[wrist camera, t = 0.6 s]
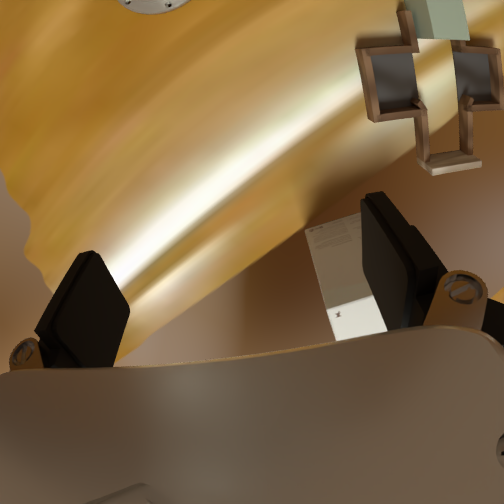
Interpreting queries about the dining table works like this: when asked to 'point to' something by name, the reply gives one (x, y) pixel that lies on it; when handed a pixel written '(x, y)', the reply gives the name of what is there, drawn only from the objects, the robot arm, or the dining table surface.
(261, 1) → the dining table surface
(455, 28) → the block
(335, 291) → the supplement box
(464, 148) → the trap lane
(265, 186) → the dining table surface
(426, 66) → the dining table surface
